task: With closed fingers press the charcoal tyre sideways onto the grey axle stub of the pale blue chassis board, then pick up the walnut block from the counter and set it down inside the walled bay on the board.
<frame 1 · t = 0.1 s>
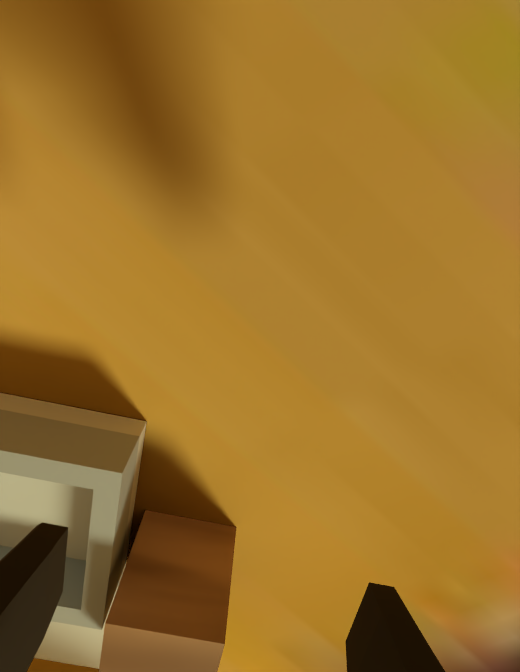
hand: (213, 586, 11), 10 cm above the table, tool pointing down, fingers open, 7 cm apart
walnut block: (184, 548, 24), on the table
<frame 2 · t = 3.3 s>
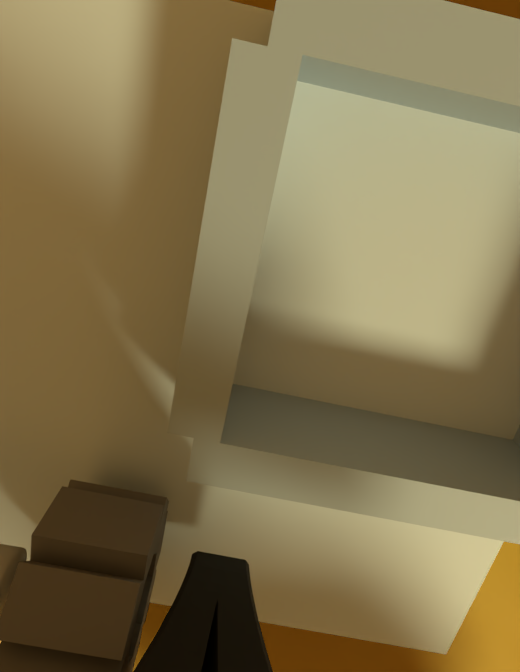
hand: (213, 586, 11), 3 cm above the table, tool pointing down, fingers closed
chassis: (215, 358, 12), on the table
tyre: (93, 596, 10), point 4 cm above the table, slide at 0.2 cm, touching gripper
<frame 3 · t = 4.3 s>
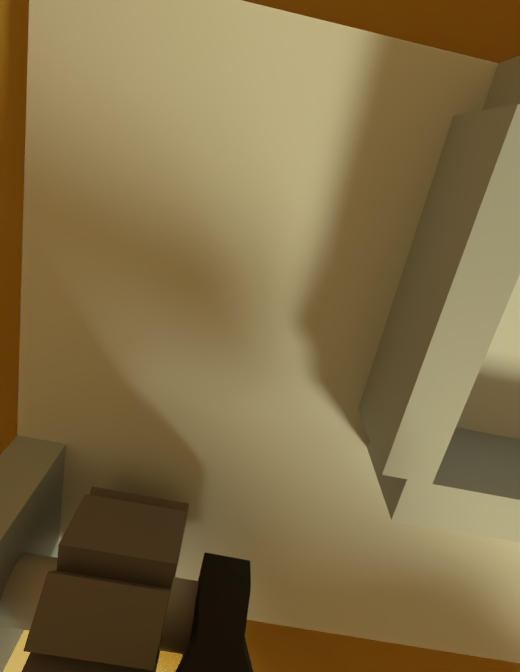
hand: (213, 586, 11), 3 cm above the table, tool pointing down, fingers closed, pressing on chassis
chassis: (368, 388, 13), on the table
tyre: (116, 604, 10), point 4 cm above the table, slide at 3.8 cm
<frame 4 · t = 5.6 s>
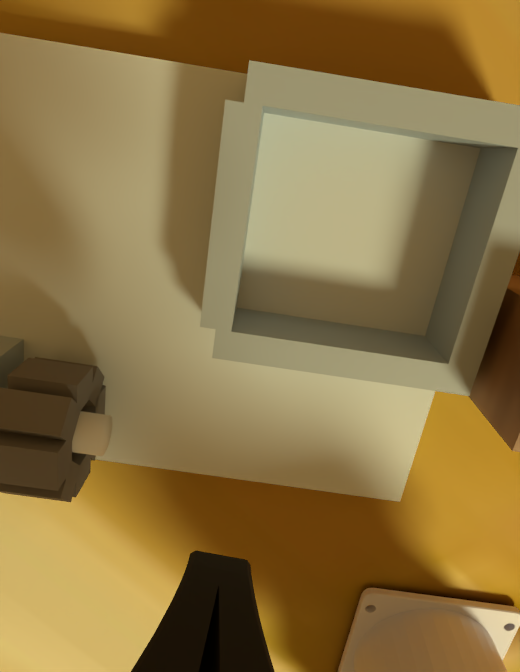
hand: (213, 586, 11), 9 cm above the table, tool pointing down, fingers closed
chassis: (226, 296, 18), on the table
walnut block: (513, 326, 19), on the table
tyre: (52, 428, 16), point 4 cm above the table, slide at 3.8 cm
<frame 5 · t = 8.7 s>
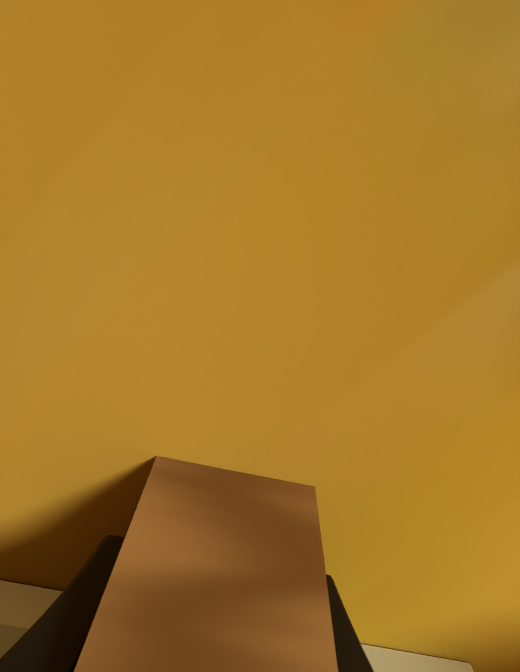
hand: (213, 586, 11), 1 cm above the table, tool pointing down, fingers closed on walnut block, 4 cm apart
walnut block: (219, 540, 13), on the table, touching gripper
when the fingers open (4 cm above the table, at t = 11.6 s): walnut block drops 1 cm, resting on chassis.
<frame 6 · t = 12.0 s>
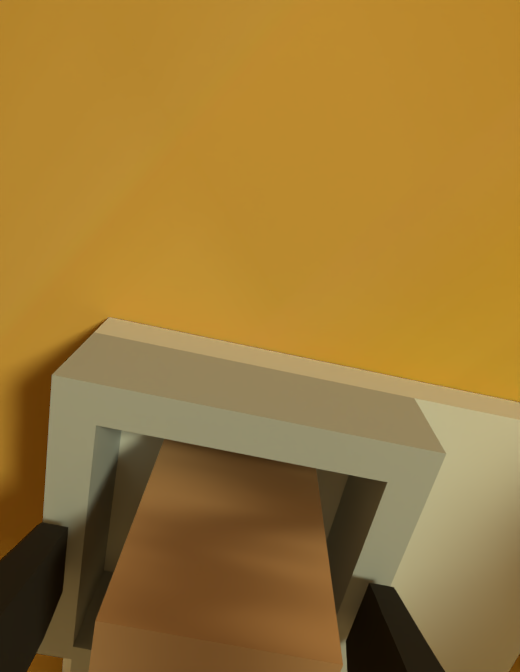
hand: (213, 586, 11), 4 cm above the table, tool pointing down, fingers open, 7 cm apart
chassis: (298, 586, 17), on the table
walnut block: (227, 498, 14), point 1 cm above the table, touching chassis
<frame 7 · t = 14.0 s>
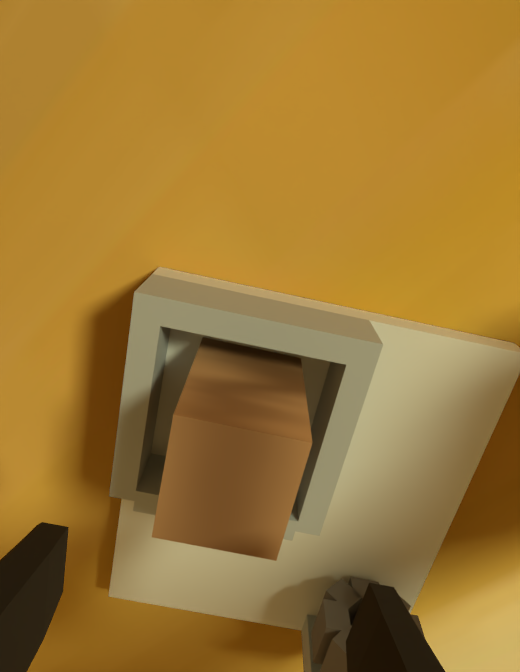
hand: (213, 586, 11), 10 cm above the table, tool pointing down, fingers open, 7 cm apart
chassis: (291, 473, 23), on the table
walnut block: (240, 396, 20), point 1 cm above the table, touching chassis
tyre: (366, 638, 21), point 4 cm above the table, slide at 3.8 cm
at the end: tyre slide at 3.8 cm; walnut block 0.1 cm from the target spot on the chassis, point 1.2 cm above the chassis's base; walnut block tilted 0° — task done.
